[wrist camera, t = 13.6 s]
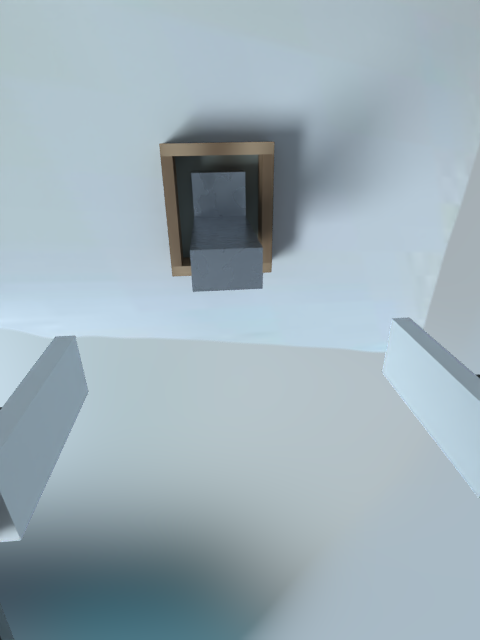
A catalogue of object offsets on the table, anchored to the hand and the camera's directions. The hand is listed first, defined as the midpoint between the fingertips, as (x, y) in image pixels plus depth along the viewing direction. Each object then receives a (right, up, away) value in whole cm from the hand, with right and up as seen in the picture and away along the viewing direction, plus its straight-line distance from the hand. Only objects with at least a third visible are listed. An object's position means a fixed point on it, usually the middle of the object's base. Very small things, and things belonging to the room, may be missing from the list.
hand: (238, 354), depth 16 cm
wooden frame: (-2, +13, +22) cm, 26 cm away
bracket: (-2, +13, +22) cm, 26 cm away
